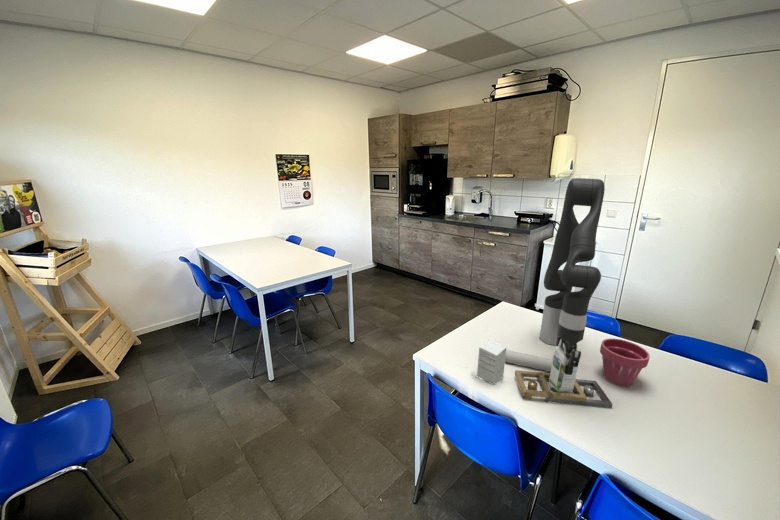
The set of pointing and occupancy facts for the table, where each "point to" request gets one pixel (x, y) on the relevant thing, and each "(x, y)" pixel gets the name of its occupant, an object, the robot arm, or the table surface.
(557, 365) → the syrup box
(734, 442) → the table surface
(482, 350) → the supplement box
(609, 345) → the plant pot
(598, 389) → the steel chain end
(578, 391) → the tan wooden frame
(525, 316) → the table surface
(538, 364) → the tube
